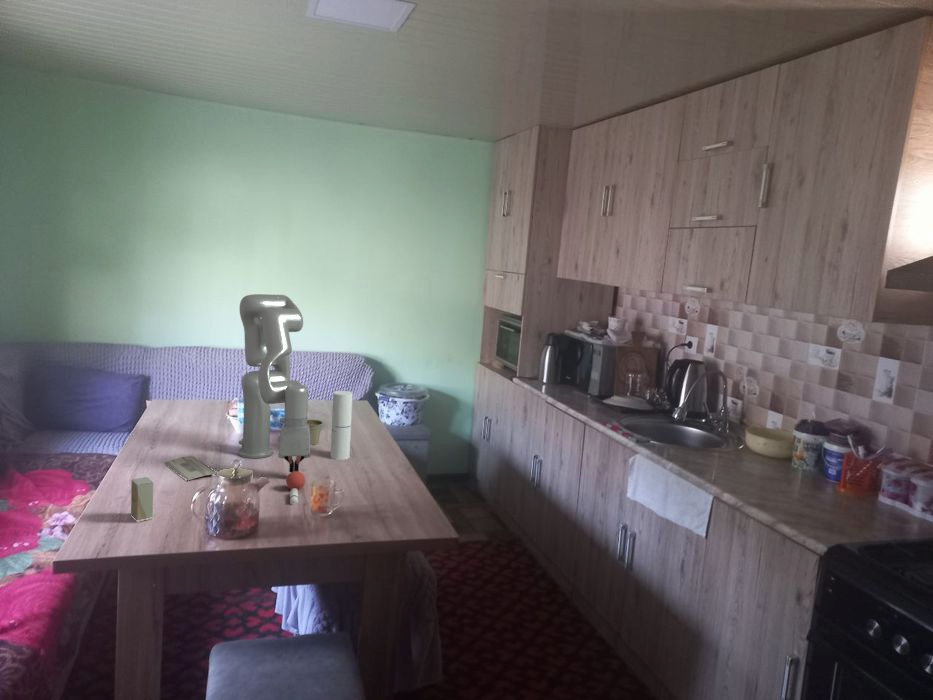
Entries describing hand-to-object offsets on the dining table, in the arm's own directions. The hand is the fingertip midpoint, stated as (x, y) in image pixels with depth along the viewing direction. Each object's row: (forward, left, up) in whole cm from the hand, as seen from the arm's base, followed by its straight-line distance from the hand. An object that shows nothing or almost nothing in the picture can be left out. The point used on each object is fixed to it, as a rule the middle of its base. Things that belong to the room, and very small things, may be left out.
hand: (293, 474), depth 223 cm
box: (-3, -51, -2) cm, 51 cm away
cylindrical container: (-6, +28, -2) cm, 29 cm away
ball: (+8, -7, +2) cm, 11 cm away
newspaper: (-31, -18, -3) cm, 35 cm away
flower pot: (-27, +32, -2) cm, 42 cm away
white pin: (+12, -10, -1) cm, 15 cm away
